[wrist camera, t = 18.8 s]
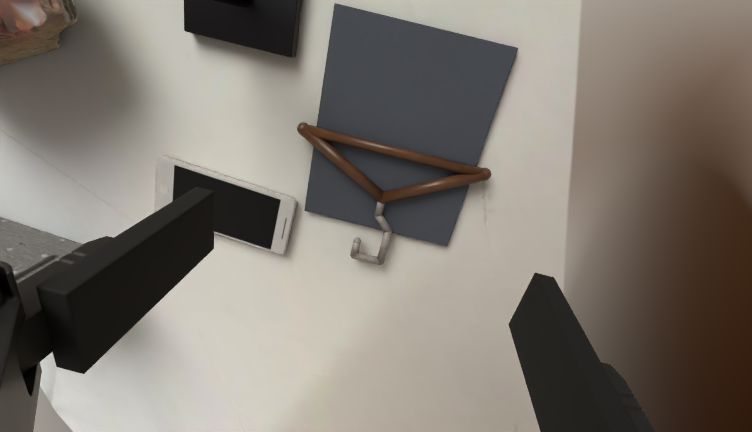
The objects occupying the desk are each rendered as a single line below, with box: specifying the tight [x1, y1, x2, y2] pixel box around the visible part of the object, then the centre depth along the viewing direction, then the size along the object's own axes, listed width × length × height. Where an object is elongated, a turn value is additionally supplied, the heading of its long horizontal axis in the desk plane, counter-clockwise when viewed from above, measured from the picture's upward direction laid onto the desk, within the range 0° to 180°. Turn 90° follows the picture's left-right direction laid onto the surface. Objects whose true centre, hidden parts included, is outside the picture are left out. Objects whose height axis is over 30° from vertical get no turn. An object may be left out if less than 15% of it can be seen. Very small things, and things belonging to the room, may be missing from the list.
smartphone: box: [155, 156, 297, 254], centre depth 40 cm, size 7×16×1 cm, turn 73°
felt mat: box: [305, 3, 518, 246], centre depth 35 cm, size 16×20×1 cm
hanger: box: [297, 122, 491, 265], centre depth 37 cm, size 19×1×14 cm
